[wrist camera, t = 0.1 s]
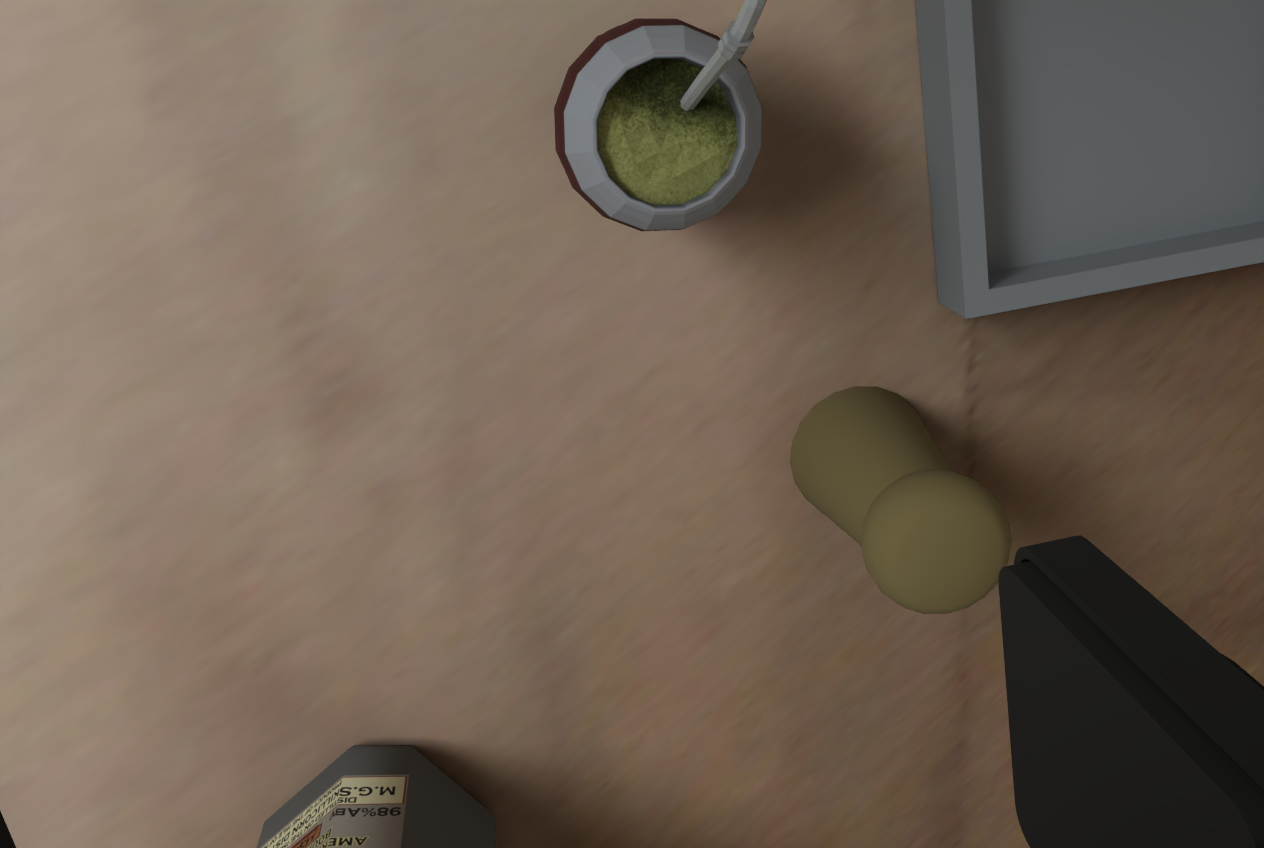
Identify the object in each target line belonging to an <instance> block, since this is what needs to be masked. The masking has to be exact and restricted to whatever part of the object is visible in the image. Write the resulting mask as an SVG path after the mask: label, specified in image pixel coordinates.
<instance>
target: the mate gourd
mask: <svg viewBox="0 0 1264 848" xmlns="http://www.w3.org/2000/svg"><path fill="white" fill-rule="evenodd" d="M766 1H767V0H745V1H744V4H743V6H742V8H741V10H740V13H739V15H738V17H737V20H736V22H731V23H730V25H729V27H728V28H727V30H726V31H725V33H724V35H723V36H722V38H721V39H720V38H719V37H718V36H716V35H714V34H711V33H709V32H706V31H704V30H702V29H699V28H697V27H694V26H692V25H690V24H687V23H685V22H683V21H681V20H678V19H634V20H632V21H630V22H627V23H625V24H623V25H620V26H617V27H615V28H613V29H611V30H609V31H607V32H605V33H604V34H602V35H599V36H597V37H596V38H595V40H594V41H593V42H592V43H591V44H590V45H589V46H588V47H587V48H586V49H585V51H584V52H583V53H582V54H581V55H580V56H579V57H578V58H577V59H576V60H575V62H574V63H573V64H572V65H571V66H570V67H569V69H568V71H567V74H566V77H565V80H564V82H563V85H562V88H561V91H560V93H559V96H558V99H557V102H556V105H555V107H554V114H555V142H556V152H557V154H558V156H559V158H560V161H561V163H562V165H563V167H564V169H565V172H566V174H567V176H568V178H569V181H570V183H571V185H572V187H573V189H575V190H576V191H577V192H578V193H579V194H580V195H581V196H582V197H583V198H584V199H585V200H586V201H587V202H588V203H589V204H590V205H591V206H592V207H593V208H594V209H595V210H597V211H598V212H599V213H600V214H601V215H602V216H604V217H606V218H608V219H611V220H614V221H616V222H619V223H621V224H624V225H627V226H629V227H632V228H635V229H637V230H640V231H659V230H681V229H685V228H687V227H689V226H691V225H694V224H696V223H698V222H700V221H702V220H705V219H707V218H709V217H711V216H713V215H716V214H718V213H719V212H720V211H721V210H722V209H723V208H724V207H725V206H726V205H727V204H728V203H729V202H730V201H731V200H732V199H733V198H734V197H735V195H736V194H737V193H738V192H739V191H740V190H741V189H742V188H743V187H744V186H745V185H746V183H747V181H748V178H749V176H750V173H751V171H752V168H753V166H754V164H755V161H756V159H757V156H758V154H759V152H760V149H761V119H762V107H761V104H760V101H759V99H758V96H757V94H756V91H755V88H754V86H753V83H752V80H751V78H750V75H749V72H748V70H747V67H746V65H745V64H744V63H743V62H742V61H741V60H740V58H741V56H742V55H743V54H744V52H745V51H746V49H747V48H748V46H749V45H750V43H751V41H752V40H753V38H754V35H753V30H754V28H755V26H756V24H757V21H758V19H759V17H760V15H761V12H762V10H763V8H764V6H765V3H766Z"/></svg>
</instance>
